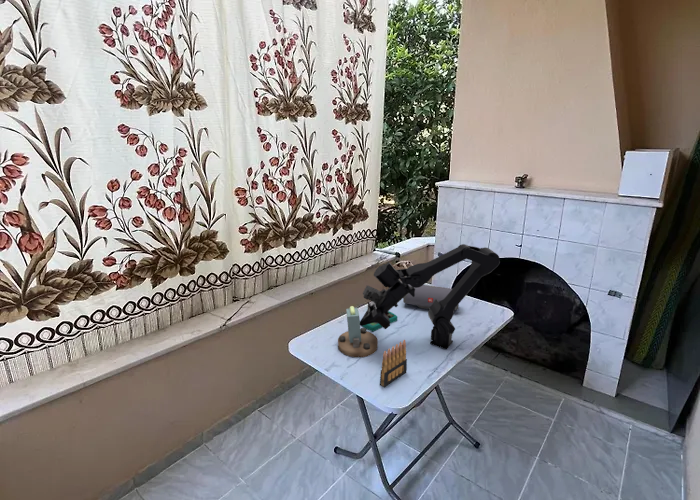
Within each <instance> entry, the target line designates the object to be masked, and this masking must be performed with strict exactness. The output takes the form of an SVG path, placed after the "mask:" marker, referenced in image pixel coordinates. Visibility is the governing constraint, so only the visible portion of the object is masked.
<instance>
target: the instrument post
mask: <svg viewBox="0 0 700 500" xmlns="http://www.w3.org/2000/svg"><path fill="white" fill-rule="evenodd" d="M345 310H346V320H347V331H348V333H349V340H350V343H353V338H359V342H361V330H360V329H361V325H360V321H361V319H360V313H359V308H358V307H355V306H354V305H351V306H349V308H346V309H345Z"/></svg>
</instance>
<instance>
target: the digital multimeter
mask: <svg viewBox="0 0 700 500" xmlns="http://www.w3.org/2000/svg"><path fill="white" fill-rule="evenodd" d="M388 312H389V314H388V315H387V316H388V318H389V320H390V324H393V323H395V322H397V321H398V316H397V315H396V313H393V312H391V310H389V311H388ZM384 314H385V313H384ZM361 328H366V330H368V331H369V332H371V333H372V332H373V333H374V332H376V331H378V330H379V329H382V328H383V327H382V326H381V325H380V324H379V323H378V322H375V323H370V324H367V325H363V326H361Z"/></svg>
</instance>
